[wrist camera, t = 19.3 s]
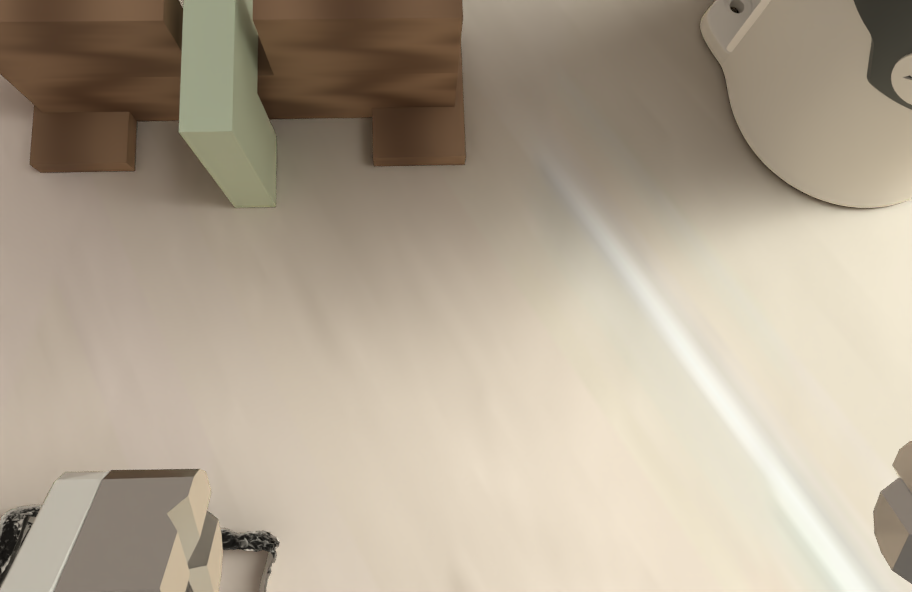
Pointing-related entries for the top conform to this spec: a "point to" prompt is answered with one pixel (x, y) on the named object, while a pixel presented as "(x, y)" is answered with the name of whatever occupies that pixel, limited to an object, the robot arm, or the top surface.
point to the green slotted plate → (226, 101)
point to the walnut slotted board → (279, 73)
